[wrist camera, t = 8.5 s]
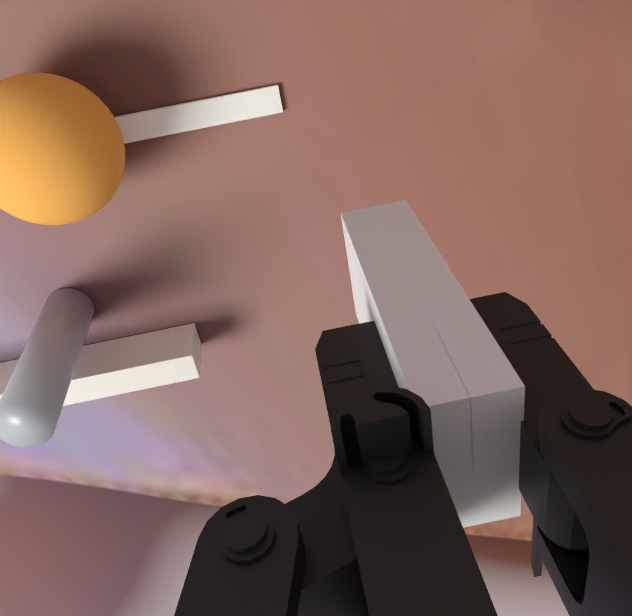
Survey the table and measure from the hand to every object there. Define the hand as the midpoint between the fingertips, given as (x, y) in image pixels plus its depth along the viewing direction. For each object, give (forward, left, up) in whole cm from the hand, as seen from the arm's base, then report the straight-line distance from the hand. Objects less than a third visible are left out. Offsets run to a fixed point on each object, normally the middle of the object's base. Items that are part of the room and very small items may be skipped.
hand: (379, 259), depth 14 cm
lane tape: (+6, 0, -16) cm, 17 cm away
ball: (+11, -1, -13) cm, 17 cm away
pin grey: (+14, +8, -16) cm, 23 cm away
